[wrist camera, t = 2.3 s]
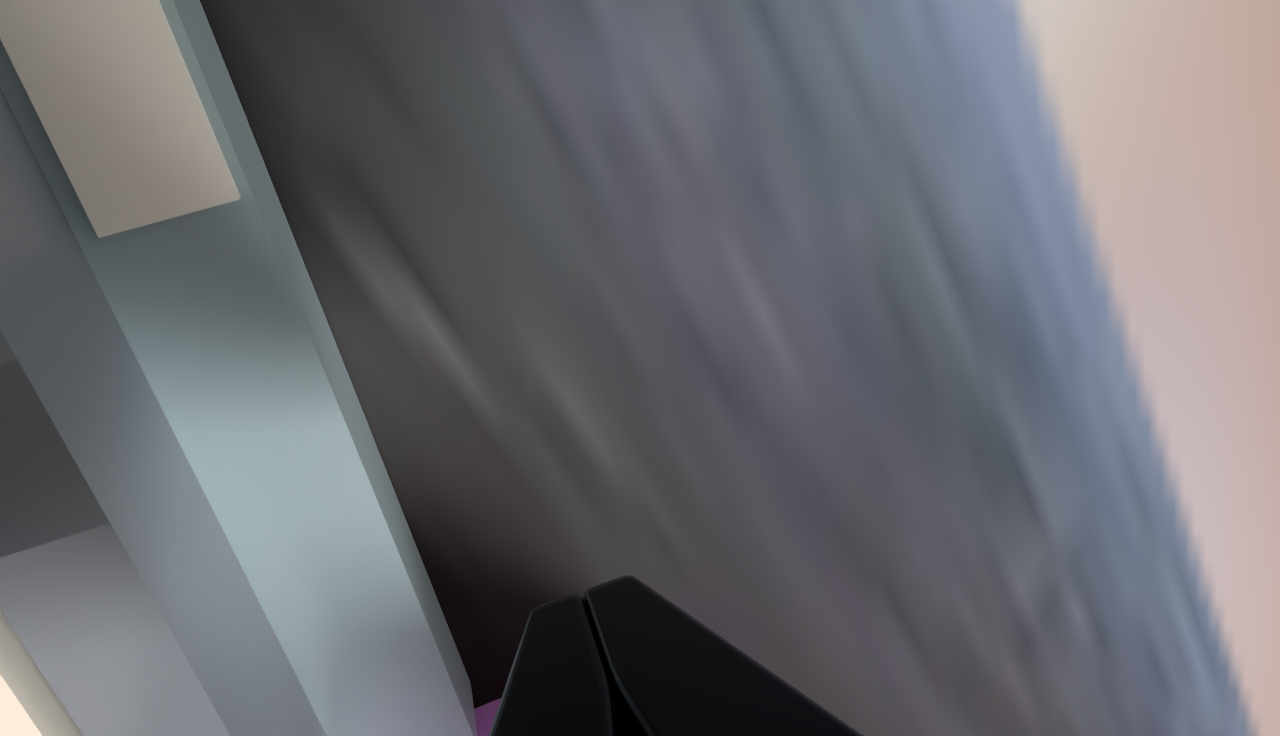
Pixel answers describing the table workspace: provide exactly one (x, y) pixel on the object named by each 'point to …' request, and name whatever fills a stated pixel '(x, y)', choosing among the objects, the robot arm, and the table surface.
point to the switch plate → (185, 413)
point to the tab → (27, 693)
